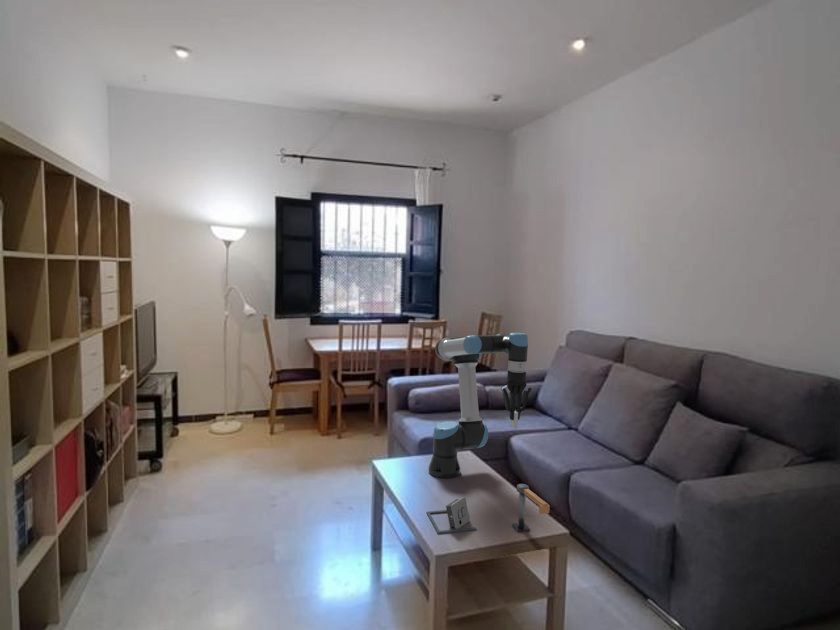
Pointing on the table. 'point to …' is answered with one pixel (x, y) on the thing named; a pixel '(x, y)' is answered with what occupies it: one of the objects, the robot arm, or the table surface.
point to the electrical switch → (458, 513)
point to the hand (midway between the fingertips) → (514, 427)
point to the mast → (521, 515)
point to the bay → (446, 530)
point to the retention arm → (534, 498)
